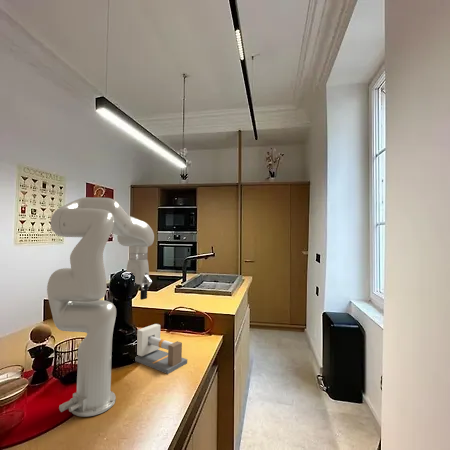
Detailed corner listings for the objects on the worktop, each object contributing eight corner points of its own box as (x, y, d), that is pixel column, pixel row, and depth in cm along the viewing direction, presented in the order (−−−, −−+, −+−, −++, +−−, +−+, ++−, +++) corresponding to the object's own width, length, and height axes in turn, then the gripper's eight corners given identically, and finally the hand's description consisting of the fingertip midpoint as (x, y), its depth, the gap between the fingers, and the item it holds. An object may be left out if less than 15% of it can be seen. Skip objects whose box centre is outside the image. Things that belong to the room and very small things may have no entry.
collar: (141, 356, 117) (142, 331, 117) (136, 354, 118) (137, 329, 118) (159, 348, 125) (160, 325, 125) (154, 346, 127) (155, 323, 127)
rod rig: (167, 374, 108) (168, 349, 108) (129, 358, 120) (129, 336, 120) (187, 363, 117) (187, 340, 117) (149, 349, 129) (149, 329, 129)
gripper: (118, 256, 128) (117, 296, 128) (145, 259, 119) (144, 302, 119) (132, 255, 135) (131, 293, 134) (159, 257, 125) (157, 299, 125)
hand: (137, 297), depth 126 cm, fingers open, 7 cm apart
